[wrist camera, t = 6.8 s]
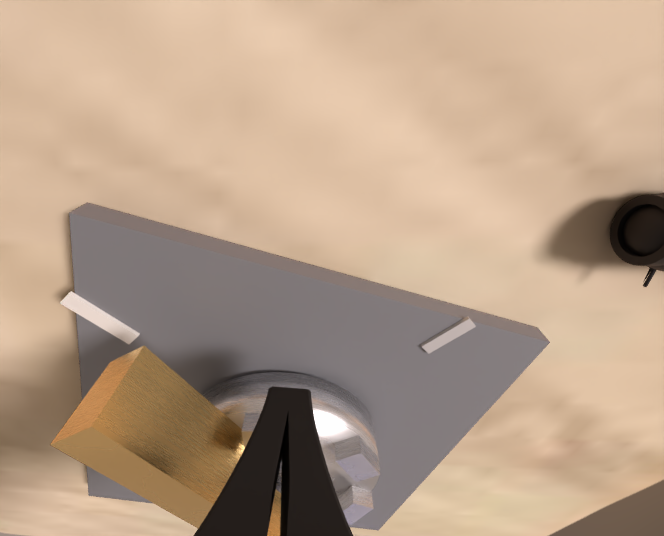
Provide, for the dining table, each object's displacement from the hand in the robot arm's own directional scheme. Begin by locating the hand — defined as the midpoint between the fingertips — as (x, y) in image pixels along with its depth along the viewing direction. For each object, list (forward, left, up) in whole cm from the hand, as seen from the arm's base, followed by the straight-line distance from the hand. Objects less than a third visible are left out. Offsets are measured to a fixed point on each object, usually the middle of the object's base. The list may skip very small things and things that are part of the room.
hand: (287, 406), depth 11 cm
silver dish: (-5, 0, -3) cm, 6 cm away
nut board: (-7, -1, -4) cm, 8 cm away
